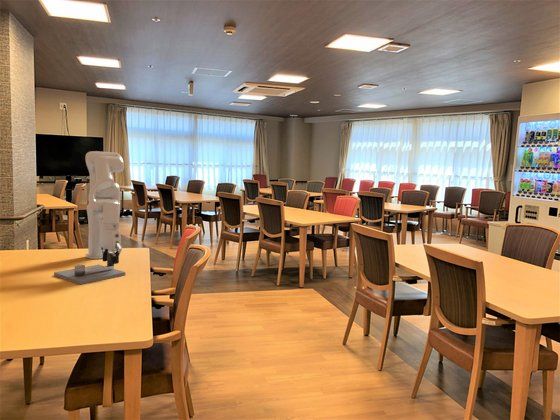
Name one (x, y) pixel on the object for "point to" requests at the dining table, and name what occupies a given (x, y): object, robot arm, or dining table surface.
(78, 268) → the swing lever
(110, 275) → the board
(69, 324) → the dining table surface
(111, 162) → the robot arm
